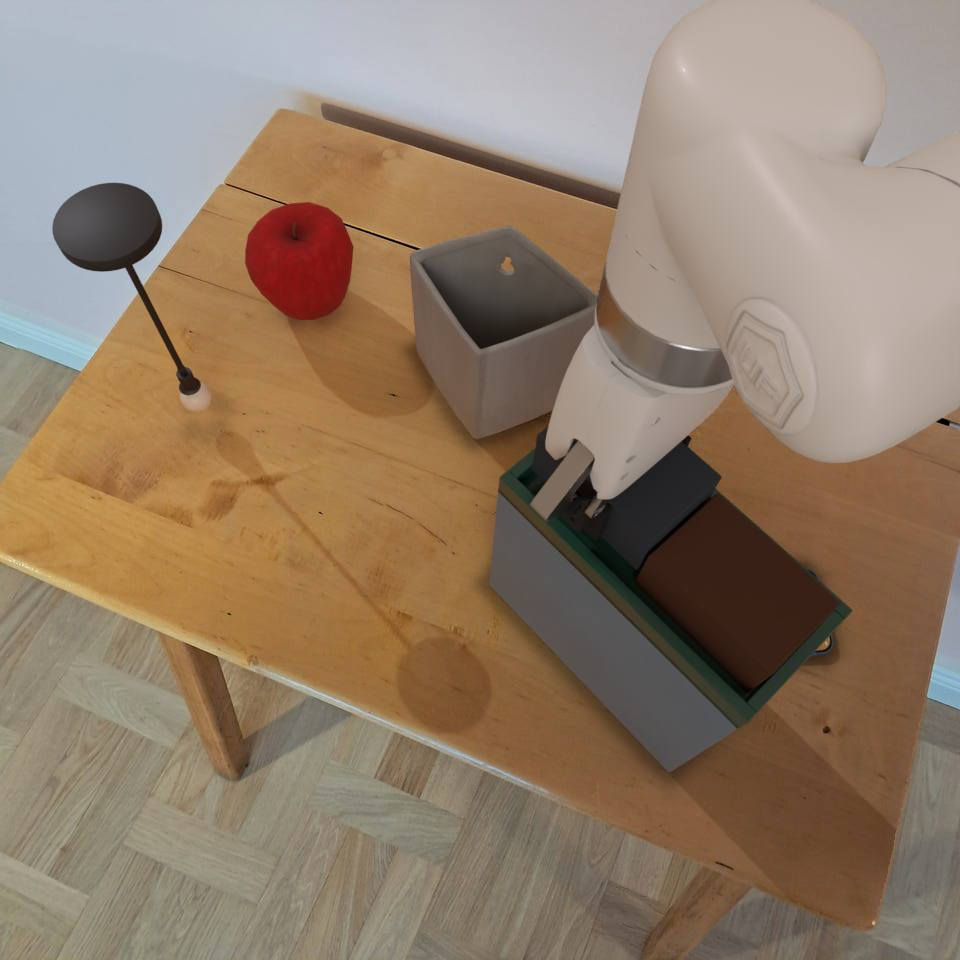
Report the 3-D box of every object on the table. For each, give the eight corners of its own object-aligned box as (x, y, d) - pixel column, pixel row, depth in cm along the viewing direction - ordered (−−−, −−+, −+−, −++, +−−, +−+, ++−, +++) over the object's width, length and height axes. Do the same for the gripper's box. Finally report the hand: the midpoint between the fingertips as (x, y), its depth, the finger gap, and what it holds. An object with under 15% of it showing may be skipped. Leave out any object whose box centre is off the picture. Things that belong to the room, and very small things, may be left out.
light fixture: (176, 457, 77) (59, 272, 54) (161, 396, 79) (45, 196, 57) (250, 436, 78) (166, 246, 55) (234, 376, 81) (148, 172, 58)
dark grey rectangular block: (598, 415, 56) (608, 376, 52) (703, 509, 53) (723, 476, 49) (531, 470, 54) (536, 434, 50) (636, 570, 51) (651, 541, 47)
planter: (389, 416, 79) (370, 277, 62) (418, 347, 83) (407, 197, 65) (562, 464, 77) (592, 336, 60) (584, 391, 81) (618, 250, 63)
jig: (839, 620, 53) (853, 610, 51) (737, 729, 50) (748, 722, 48) (601, 406, 59) (605, 390, 57) (497, 491, 56) (498, 476, 54)
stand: (750, 688, 69) (839, 620, 53) (668, 773, 66) (737, 729, 50) (570, 514, 75) (601, 406, 59) (488, 584, 72) (497, 491, 56)
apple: (316, 245, 88) (298, 163, 78) (382, 299, 85) (372, 220, 75) (239, 302, 84) (211, 223, 75) (305, 360, 82) (284, 285, 72)
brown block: (698, 522, 55) (718, 491, 51) (811, 626, 52) (841, 602, 48) (633, 582, 53) (648, 555, 49) (746, 693, 50) (772, 674, 46)
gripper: (747, 158, 41) (666, 371, 57) (478, 359, 36) (472, 531, 52) (877, 251, 39) (754, 445, 55) (610, 481, 33) (561, 622, 50)
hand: (618, 486), depth 53 cm, fingers closed on dark grey rectangular block, 5 cm apart
